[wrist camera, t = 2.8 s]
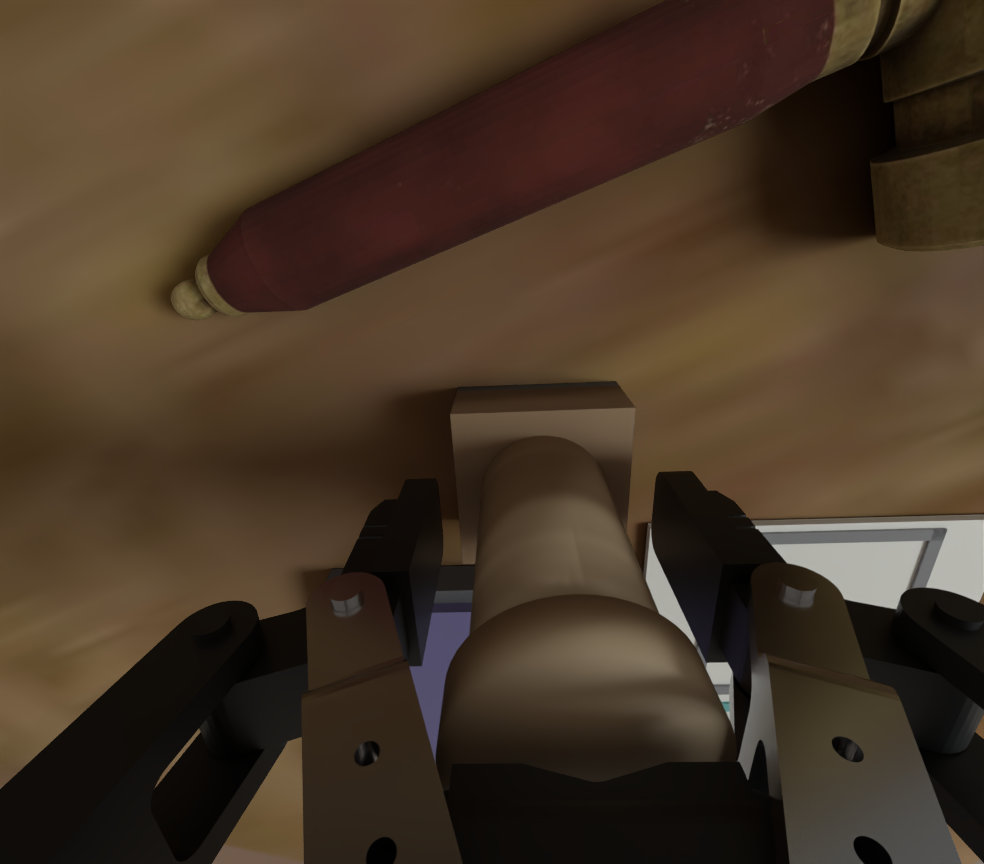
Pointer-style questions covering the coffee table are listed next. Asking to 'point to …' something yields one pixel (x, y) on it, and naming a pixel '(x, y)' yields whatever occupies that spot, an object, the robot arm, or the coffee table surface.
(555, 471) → the stamp
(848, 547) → the sheet
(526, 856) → the robot arm
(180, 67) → the coffee table surface
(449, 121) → the gavel
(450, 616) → the ink pad
